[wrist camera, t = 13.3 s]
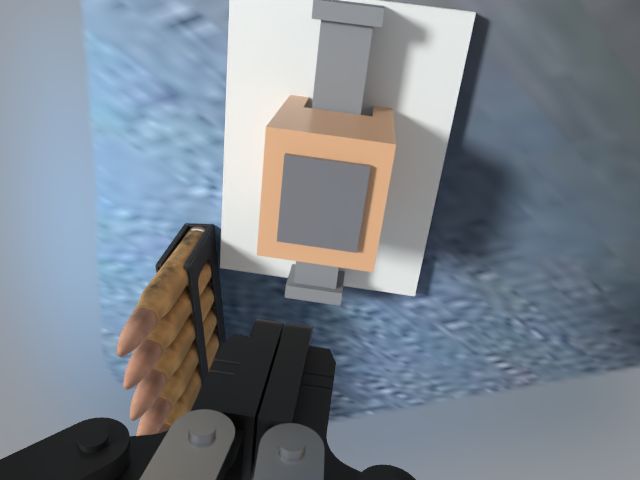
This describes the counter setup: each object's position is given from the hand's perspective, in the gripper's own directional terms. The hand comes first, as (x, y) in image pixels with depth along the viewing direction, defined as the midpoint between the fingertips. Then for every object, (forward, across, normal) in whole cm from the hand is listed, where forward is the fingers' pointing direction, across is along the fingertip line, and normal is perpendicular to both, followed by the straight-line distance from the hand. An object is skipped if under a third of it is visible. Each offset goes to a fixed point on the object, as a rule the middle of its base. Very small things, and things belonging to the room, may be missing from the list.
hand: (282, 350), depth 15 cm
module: (+18, 0, 0) cm, 18 cm away
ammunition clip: (+19, +7, +11) cm, 23 cm away
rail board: (+18, 0, 0) cm, 19 cm away
